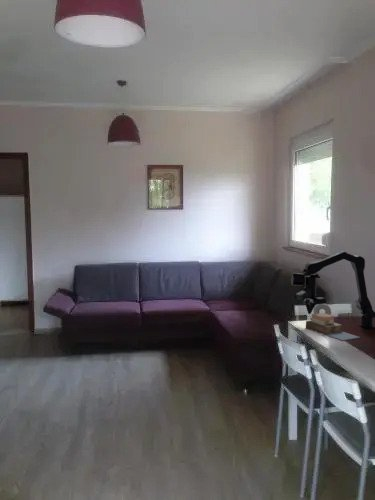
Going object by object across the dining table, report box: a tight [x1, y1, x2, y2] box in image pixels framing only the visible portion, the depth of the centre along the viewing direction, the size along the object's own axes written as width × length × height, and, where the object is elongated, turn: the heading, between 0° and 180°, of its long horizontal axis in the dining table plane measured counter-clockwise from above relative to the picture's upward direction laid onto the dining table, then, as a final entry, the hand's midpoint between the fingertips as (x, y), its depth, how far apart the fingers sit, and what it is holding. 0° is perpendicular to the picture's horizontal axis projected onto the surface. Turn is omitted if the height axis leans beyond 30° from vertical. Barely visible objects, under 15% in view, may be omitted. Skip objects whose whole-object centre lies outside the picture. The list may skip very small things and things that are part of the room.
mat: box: [325, 331, 361, 342], centre depth 228 cm, size 12×11×1 cm
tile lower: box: [310, 317, 335, 325], centre depth 240 cm, size 8×8×2 cm
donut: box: [312, 303, 332, 315], centre depth 262 cm, size 10×4×10 cm, turn 72°
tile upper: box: [311, 312, 335, 321], centre depth 240 cm, size 8×8×2 cm
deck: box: [305, 319, 343, 336], centre depth 239 cm, size 12×14×4 cm
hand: (309, 313), depth 248 cm, fingers closed
